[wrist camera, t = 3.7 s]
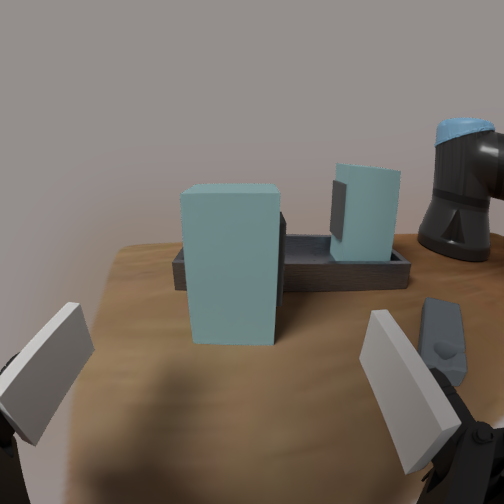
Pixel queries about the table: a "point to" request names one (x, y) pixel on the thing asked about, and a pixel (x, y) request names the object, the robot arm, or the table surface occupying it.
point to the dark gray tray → (325, 268)
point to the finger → (233, 261)
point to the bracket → (443, 339)
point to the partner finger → (363, 212)
